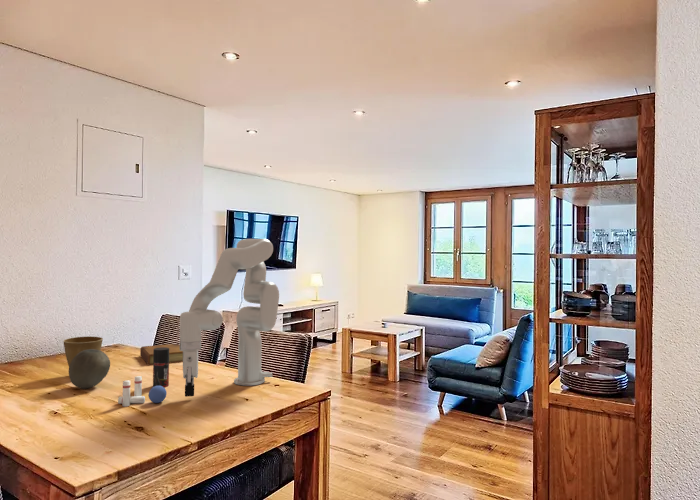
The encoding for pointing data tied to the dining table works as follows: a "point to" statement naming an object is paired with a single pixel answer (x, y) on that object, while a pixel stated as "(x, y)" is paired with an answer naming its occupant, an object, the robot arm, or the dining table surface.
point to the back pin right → (138, 386)
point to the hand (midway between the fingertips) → (189, 395)
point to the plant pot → (80, 346)
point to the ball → (157, 394)
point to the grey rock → (88, 368)
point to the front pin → (133, 399)
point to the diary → (147, 351)
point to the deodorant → (161, 367)
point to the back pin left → (126, 393)
